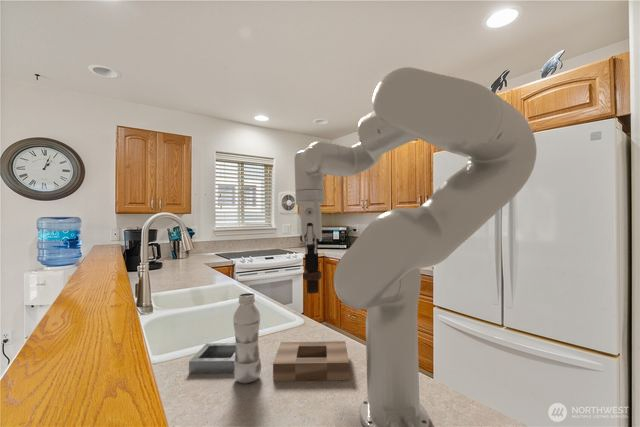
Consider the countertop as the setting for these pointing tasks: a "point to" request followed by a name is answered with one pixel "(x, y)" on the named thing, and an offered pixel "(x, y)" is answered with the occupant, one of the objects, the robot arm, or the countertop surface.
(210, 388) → the countertop surface
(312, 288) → the bolt
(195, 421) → the countertop surface
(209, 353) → the frame
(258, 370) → the plastic bottle
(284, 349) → the wooden block with hole
